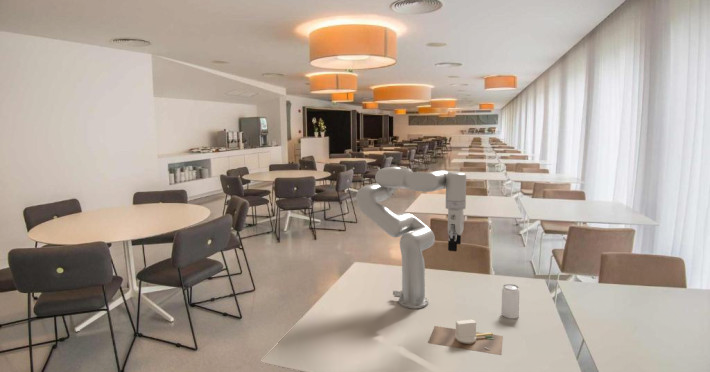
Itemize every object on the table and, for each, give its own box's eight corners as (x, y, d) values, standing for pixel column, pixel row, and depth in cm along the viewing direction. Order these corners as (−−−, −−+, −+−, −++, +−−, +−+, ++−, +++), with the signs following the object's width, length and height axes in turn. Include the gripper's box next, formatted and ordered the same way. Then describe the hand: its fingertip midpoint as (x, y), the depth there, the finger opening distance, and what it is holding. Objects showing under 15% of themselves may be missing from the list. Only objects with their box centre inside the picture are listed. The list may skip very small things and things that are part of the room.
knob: (460, 344, 143) (460, 327, 142) (452, 334, 150) (452, 318, 149) (497, 340, 145) (497, 323, 144) (487, 330, 152) (488, 314, 151)
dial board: (427, 346, 146) (427, 342, 145) (434, 329, 158) (434, 325, 157) (501, 359, 137) (501, 354, 137) (502, 340, 149) (502, 335, 149)
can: (520, 319, 164) (521, 290, 162) (502, 318, 165) (503, 289, 163) (517, 312, 170) (518, 284, 168) (500, 311, 171) (501, 283, 170)
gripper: (462, 209, 153) (461, 254, 156) (468, 200, 169) (467, 242, 172) (441, 208, 156) (440, 252, 159) (449, 199, 172) (448, 240, 175)
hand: (454, 247), depth 165 cm, fingers open, 9 cm apart
